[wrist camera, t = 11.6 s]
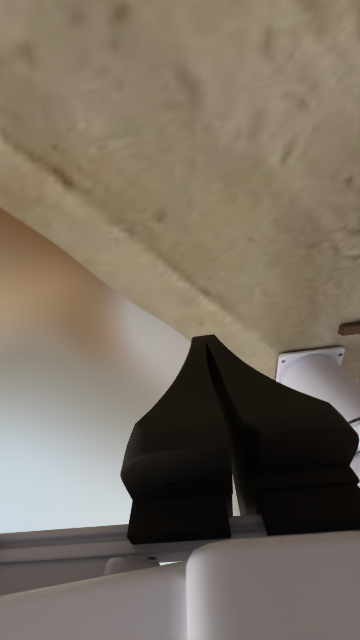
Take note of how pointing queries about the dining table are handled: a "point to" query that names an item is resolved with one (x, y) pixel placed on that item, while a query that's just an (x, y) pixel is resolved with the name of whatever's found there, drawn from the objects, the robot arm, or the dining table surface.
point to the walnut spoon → (349, 329)
